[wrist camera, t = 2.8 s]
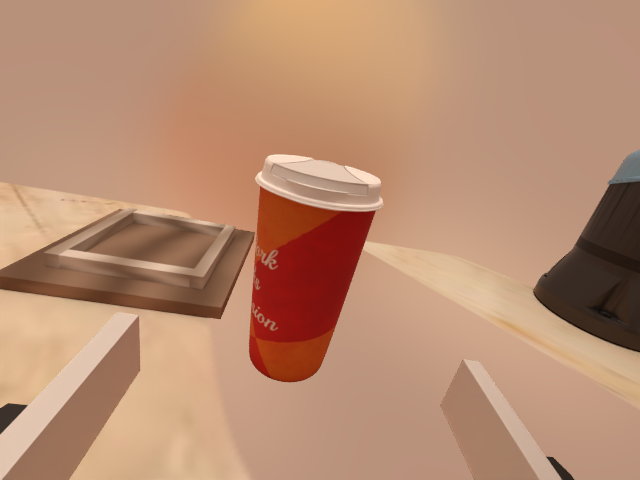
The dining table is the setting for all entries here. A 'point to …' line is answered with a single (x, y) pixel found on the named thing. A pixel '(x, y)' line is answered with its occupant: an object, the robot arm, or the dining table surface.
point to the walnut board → (139, 263)
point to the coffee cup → (305, 259)
